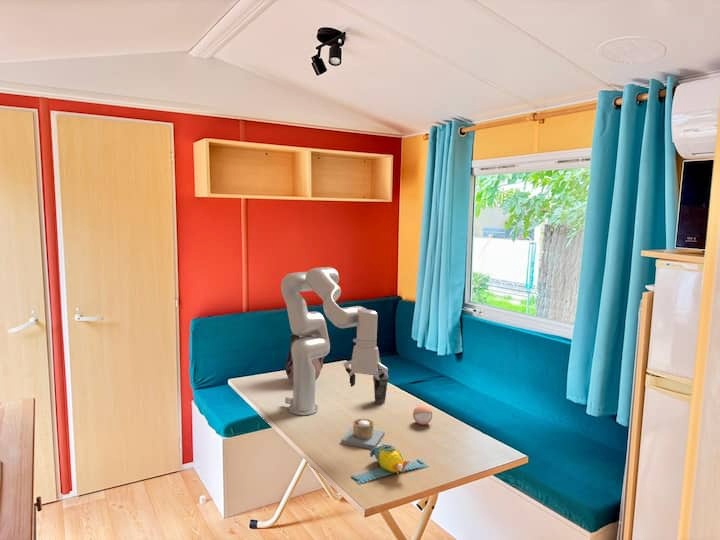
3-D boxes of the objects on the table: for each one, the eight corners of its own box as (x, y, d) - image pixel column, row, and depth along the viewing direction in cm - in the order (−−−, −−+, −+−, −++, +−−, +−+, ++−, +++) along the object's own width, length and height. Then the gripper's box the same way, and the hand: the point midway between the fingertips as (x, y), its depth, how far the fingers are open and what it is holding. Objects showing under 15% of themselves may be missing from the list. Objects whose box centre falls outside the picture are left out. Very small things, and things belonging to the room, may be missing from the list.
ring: (350, 437, 188) (350, 424, 187) (357, 429, 195) (357, 417, 194) (369, 441, 186) (369, 428, 185) (375, 433, 193) (375, 420, 192)
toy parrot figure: (364, 465, 154) (342, 445, 167) (363, 491, 155) (341, 470, 168) (436, 447, 168) (411, 430, 181) (436, 472, 168) (410, 454, 182)
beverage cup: (376, 406, 224) (378, 362, 222) (369, 400, 230) (370, 358, 228) (390, 403, 227) (392, 361, 225) (382, 398, 234) (384, 356, 231)
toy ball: (415, 428, 202) (416, 409, 201) (410, 420, 210) (411, 402, 209) (434, 427, 203) (435, 408, 202) (428, 419, 211) (429, 401, 210)
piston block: (341, 443, 186) (341, 426, 186) (353, 429, 199) (353, 413, 198) (374, 449, 182) (375, 432, 182) (384, 435, 194) (385, 419, 194)
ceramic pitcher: (283, 377, 258) (284, 330, 256) (324, 375, 263) (325, 329, 261) (287, 389, 241) (288, 338, 239) (330, 387, 247) (331, 337, 244)
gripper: (341, 342, 186) (339, 387, 188) (385, 348, 180) (384, 394, 182) (348, 338, 193) (346, 381, 195) (391, 343, 187) (389, 387, 189)
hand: (364, 387), depth 189 cm, fingers open, 9 cm apart
